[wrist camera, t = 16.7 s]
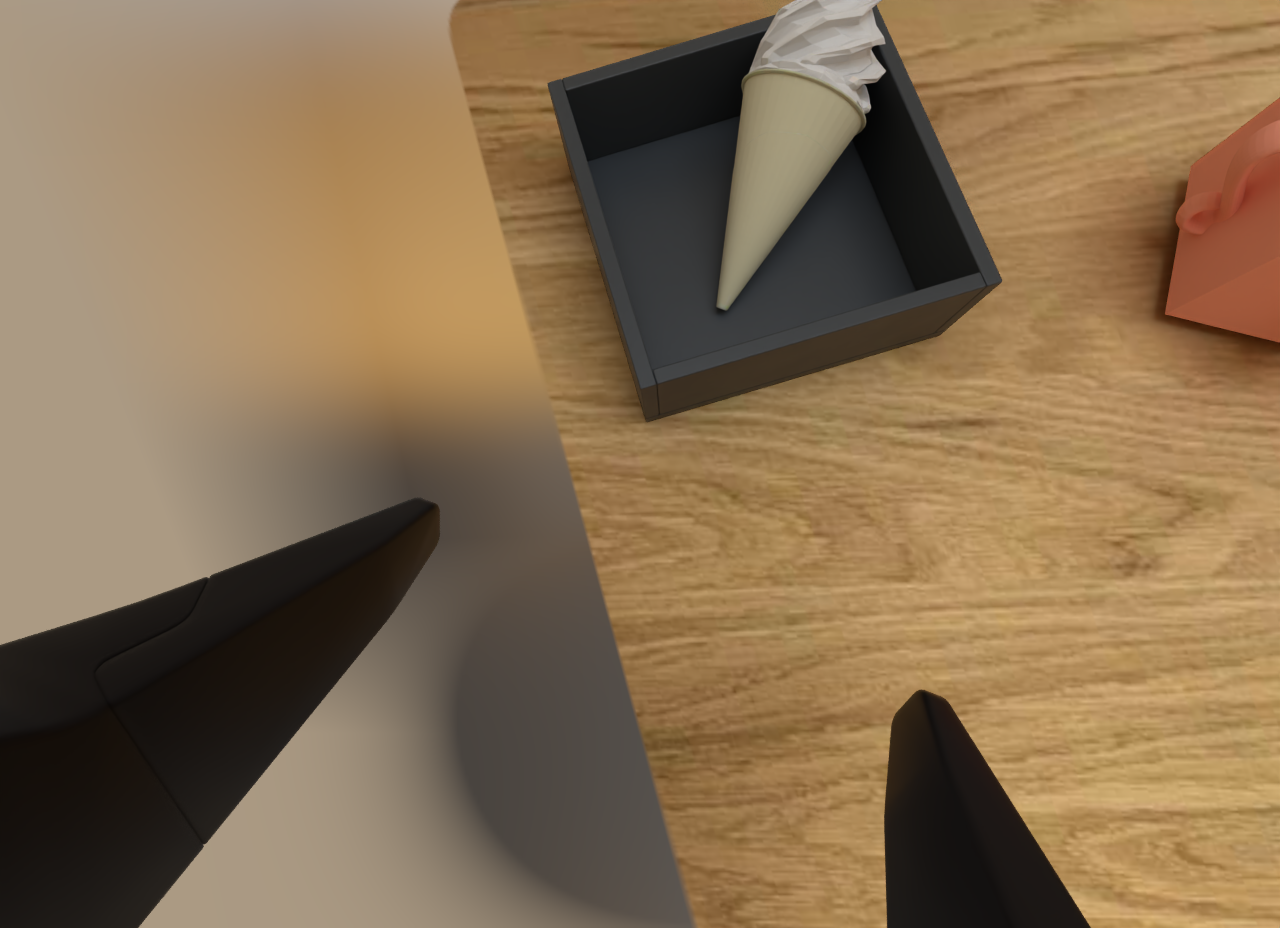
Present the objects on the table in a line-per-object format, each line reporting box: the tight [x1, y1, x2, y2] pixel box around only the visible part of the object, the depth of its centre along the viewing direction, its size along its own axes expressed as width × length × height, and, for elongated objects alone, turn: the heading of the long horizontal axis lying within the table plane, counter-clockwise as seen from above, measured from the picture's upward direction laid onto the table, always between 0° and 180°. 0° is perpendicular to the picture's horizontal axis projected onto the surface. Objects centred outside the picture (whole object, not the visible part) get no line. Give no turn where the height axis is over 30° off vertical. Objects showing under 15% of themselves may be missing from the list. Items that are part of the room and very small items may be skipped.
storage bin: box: [548, 5, 1002, 422], centre depth 23 cm, size 13×13×5 cm
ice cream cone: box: [716, 0, 886, 311], centre depth 21 cm, size 5×5×15 cm
